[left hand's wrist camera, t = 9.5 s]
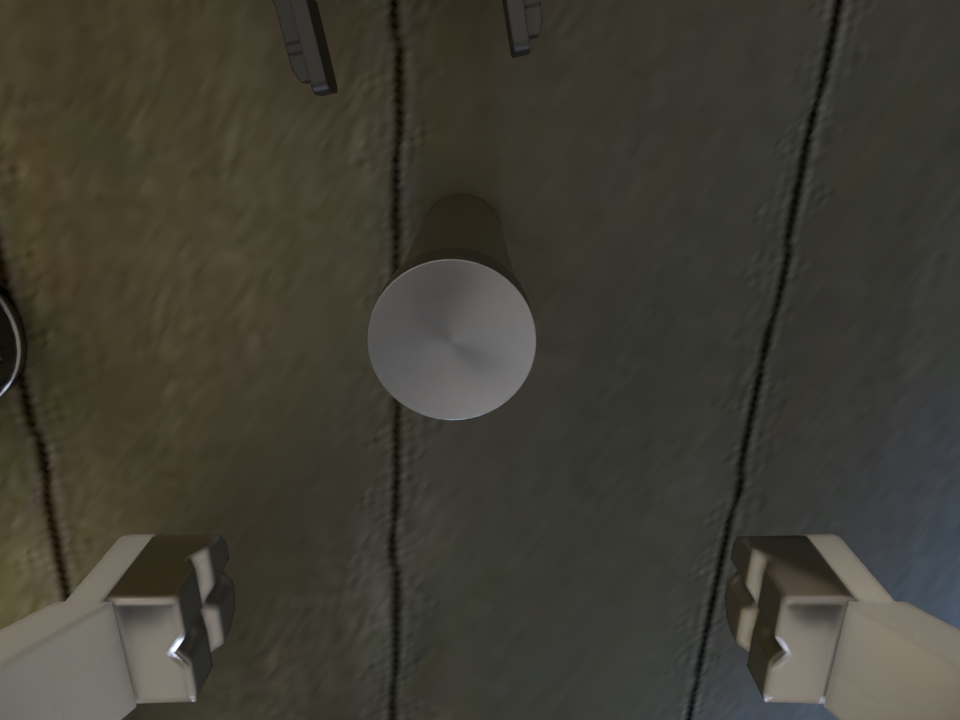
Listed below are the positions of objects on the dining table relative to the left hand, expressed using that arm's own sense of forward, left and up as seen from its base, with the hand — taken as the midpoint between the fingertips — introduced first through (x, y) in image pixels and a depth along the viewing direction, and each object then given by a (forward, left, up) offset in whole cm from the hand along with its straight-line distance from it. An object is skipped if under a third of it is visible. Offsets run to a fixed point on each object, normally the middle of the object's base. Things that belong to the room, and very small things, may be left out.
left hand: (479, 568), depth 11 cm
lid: (0, +1, -9) cm, 9 cm away
